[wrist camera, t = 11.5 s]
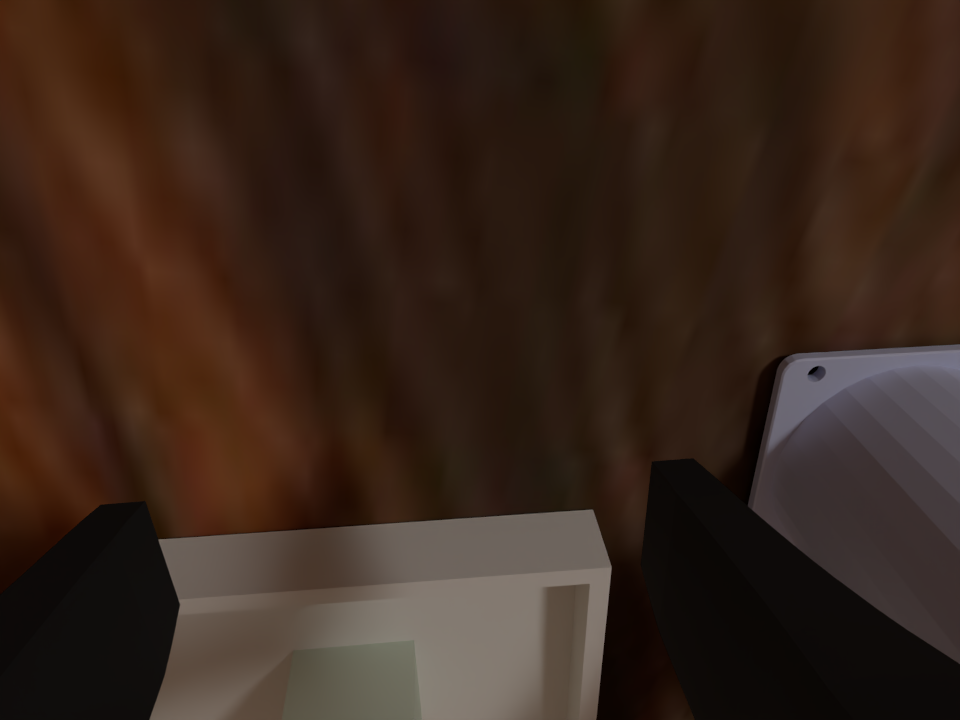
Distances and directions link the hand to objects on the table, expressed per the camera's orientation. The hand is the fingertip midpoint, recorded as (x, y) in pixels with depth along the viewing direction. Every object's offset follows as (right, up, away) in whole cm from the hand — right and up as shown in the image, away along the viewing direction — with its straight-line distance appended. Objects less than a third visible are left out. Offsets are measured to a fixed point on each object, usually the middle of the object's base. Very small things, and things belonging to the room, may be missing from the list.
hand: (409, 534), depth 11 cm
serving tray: (-3, -8, +15) cm, 18 cm away
